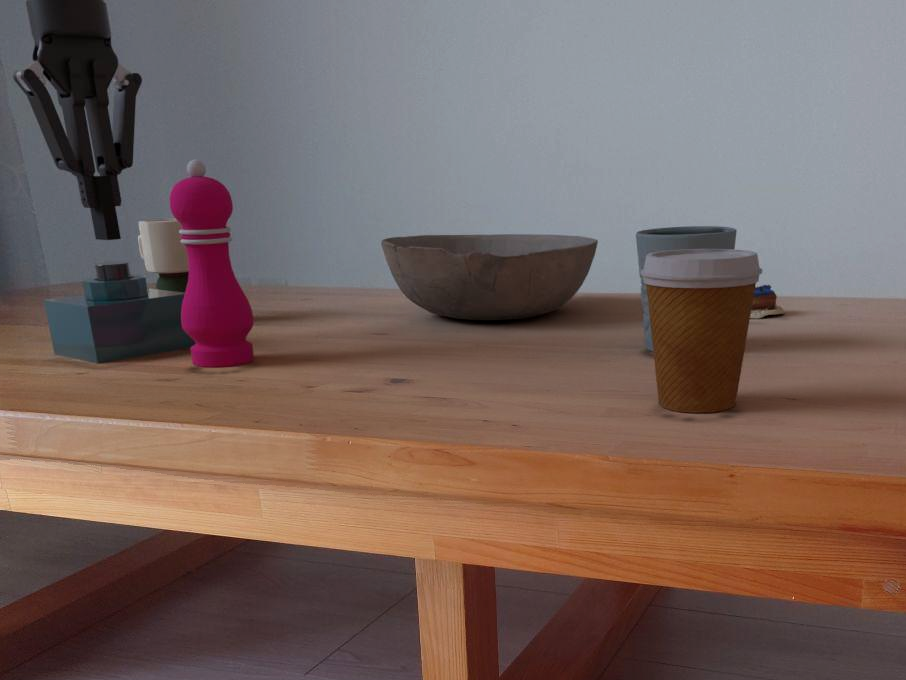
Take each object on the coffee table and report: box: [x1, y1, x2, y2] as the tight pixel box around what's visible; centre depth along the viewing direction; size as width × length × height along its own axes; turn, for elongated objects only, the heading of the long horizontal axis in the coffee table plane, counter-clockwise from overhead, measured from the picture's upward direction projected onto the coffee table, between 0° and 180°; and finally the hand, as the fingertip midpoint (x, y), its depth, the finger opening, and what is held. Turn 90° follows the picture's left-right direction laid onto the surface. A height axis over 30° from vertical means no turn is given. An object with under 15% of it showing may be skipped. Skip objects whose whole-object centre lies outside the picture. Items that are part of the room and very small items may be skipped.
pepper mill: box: [169, 159, 255, 368], centre depth 103 cm, size 7×7×20 cm
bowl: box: [380, 233, 599, 321], centre depth 131 cm, size 28×28×10 cm
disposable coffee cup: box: [640, 249, 764, 414], centre depth 81 cm, size 10×10×12 cm
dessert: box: [750, 284, 785, 320], centre depth 127 cm, size 8×7×6 cm
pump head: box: [93, 261, 132, 281], centre depth 111 cm, size 4×4×2 cm
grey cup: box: [635, 225, 738, 352], centre depth 105 cm, size 10×10×12 cm
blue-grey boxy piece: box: [43, 274, 196, 365], centre depth 113 cm, size 12×10×8 cm
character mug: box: [137, 217, 189, 293], centre depth 131 cm, size 11×7×13 cm, turn 65°
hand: (108, 239), depth 110 cm, fingers closed
